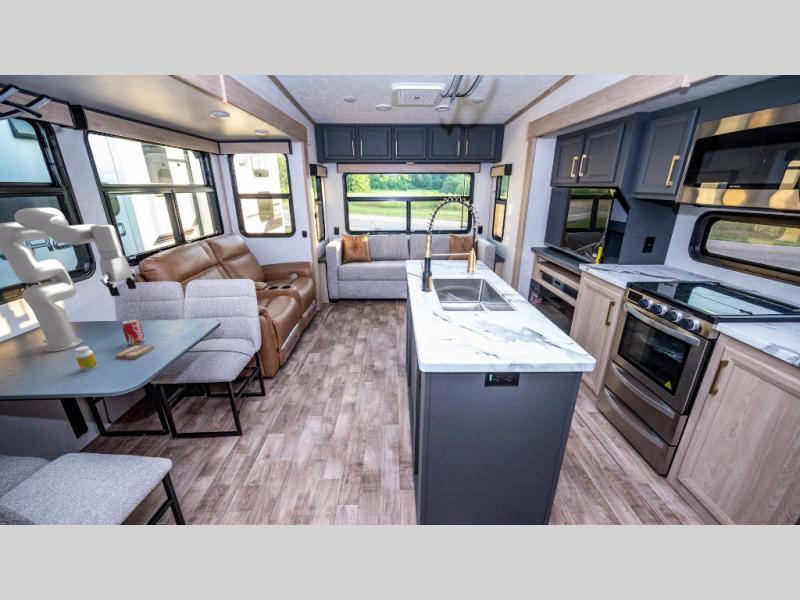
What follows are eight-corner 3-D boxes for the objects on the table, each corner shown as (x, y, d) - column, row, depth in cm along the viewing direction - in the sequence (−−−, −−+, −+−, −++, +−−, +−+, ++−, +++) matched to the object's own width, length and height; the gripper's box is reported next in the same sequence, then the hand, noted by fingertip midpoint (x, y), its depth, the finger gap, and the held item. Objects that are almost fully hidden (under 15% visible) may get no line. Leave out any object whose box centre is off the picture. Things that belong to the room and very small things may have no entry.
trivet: (115, 358, 140) (114, 355, 139) (135, 347, 149) (134, 344, 149) (135, 359, 139) (134, 356, 138) (154, 348, 148) (153, 345, 148)
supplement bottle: (86, 372, 130) (78, 352, 126) (78, 370, 131) (69, 350, 128) (101, 365, 134) (93, 345, 131) (92, 363, 136) (84, 344, 132)
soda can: (135, 346, 150) (128, 324, 146) (124, 345, 152) (116, 323, 147) (149, 340, 157) (142, 318, 153) (138, 338, 158) (131, 317, 154)
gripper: (118, 250, 138) (130, 286, 144) (84, 259, 122) (99, 299, 127) (135, 250, 138) (146, 286, 144) (104, 258, 122) (118, 298, 128)
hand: (124, 292), depth 136 cm, fingers open, 9 cm apart
